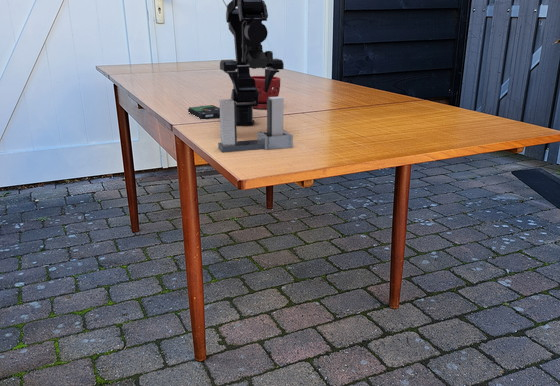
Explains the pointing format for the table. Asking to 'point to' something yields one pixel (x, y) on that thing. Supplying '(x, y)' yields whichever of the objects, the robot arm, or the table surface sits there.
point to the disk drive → (205, 112)
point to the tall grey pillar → (275, 116)
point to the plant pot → (261, 89)
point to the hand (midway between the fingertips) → (252, 93)
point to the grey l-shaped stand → (262, 142)
